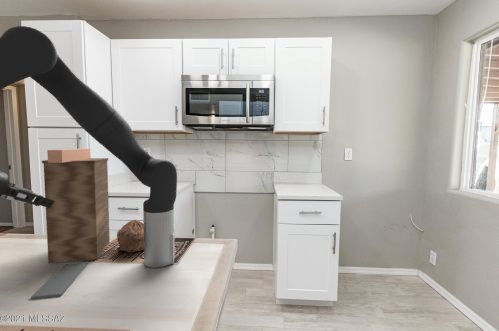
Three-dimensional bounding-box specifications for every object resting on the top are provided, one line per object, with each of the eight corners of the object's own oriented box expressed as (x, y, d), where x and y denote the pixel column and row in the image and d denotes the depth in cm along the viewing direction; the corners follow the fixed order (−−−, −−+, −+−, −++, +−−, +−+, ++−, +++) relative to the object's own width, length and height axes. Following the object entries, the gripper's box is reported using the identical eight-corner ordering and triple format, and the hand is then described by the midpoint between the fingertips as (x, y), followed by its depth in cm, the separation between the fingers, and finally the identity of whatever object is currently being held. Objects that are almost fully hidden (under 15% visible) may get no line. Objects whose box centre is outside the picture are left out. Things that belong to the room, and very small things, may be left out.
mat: (88, 263, 82) (88, 261, 82) (61, 295, 65) (61, 293, 65) (64, 265, 81) (64, 263, 81) (31, 299, 63) (30, 296, 63)
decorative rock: (121, 243, 100) (121, 217, 99) (152, 240, 102) (152, 216, 102) (112, 257, 87) (111, 228, 86) (147, 254, 90) (147, 226, 89)
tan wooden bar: (90, 158, 94) (90, 148, 94) (62, 162, 73) (61, 150, 73) (79, 158, 93) (79, 148, 93) (47, 162, 72) (47, 150, 72)
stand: (110, 242, 99) (108, 158, 97) (98, 259, 85) (94, 160, 83) (67, 245, 96) (63, 158, 93) (46, 263, 82) (41, 160, 79)
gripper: (1, 171, 59) (65, 194, 73) (-30, 160, 64) (35, 183, 78) (-20, 202, 56) (50, 219, 70) (-51, 188, 62) (20, 207, 76)
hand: (42, 200), depth 74 cm, fingers open, 8 cm apart
